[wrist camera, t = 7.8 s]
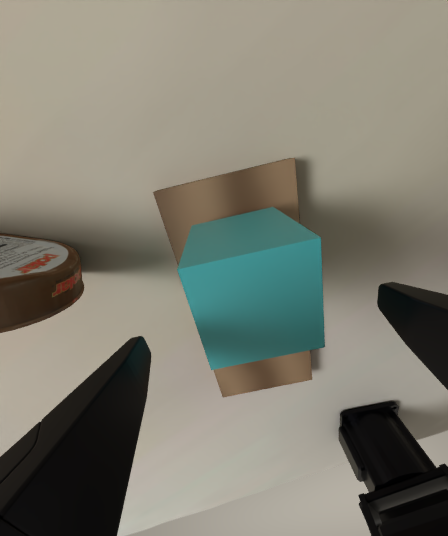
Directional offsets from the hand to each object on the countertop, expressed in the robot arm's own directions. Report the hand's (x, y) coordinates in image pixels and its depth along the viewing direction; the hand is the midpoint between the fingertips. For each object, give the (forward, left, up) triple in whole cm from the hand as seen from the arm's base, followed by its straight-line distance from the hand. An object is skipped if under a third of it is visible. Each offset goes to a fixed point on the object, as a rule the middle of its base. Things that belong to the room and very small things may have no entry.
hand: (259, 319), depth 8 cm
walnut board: (0, +5, -9) cm, 11 cm away
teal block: (0, 0, -7) cm, 7 cm away
